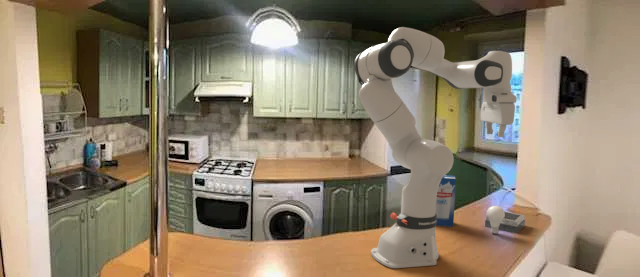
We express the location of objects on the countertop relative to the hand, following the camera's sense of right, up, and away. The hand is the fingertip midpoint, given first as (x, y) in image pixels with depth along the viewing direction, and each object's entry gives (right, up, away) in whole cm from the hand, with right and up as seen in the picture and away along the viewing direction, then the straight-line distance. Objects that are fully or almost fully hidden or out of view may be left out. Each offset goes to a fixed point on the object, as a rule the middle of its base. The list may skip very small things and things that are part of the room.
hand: (494, 135), depth 136 cm
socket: (+12, -37, +18) cm, 43 cm away
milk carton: (-13, -37, +20) cm, 44 cm away
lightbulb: (+4, -38, +9) cm, 40 cm away
